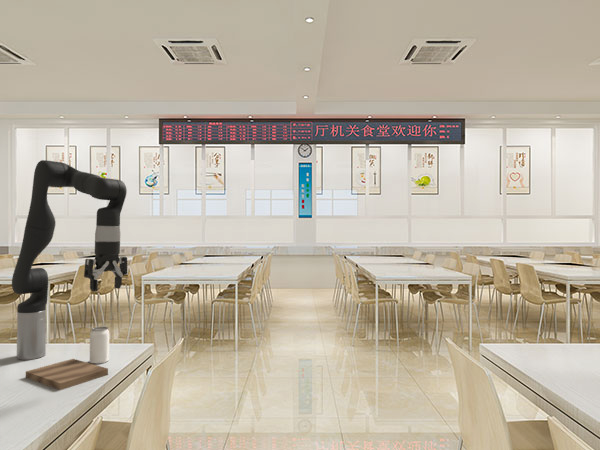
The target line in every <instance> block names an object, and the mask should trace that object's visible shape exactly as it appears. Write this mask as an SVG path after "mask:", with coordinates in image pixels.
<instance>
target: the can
mask: <svg viewBox="0 0 600 450" xmlns="http://www.w3.org/2000/svg"><path fill="white" fill-rule="evenodd" d="M109 360H110V331H109V327H107V326H97V327H93V328H91V331H90V333H89V362H90V364H94V365H101V364H104V363H107V362H109Z"/></svg>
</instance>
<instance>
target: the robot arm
mask: <svg viewBox="0 0 600 450" xmlns="http://www.w3.org/2000/svg"><path fill="white" fill-rule="evenodd" d="M32 179H33V181H32V190H31V198H30V204H29V209H28V215H27V219H26V223H25V227H24V232H23V238H22V242H21V247H20V252H19V255H18V257H17V261H16V265H15V267H14V270H13V273H12V279H11V288H12V291H13V292H14V293H15V294H17V295H25V294H26V295H27V294H31V295H30V296H29V297H28V298H27V299H26V300H24V301H22V302H20V303H18V304H17V306H16V308H17V309H16V315H17V317H16V322H17V324H16V326H17V327H16V328H17V329H16V358H17V360H22V361H23V360H24V361H26V360H34V359H39V358H42V357H44V356H45V355H46V354H47V353H46V351H47V350H46V347H47V346H46V345H47V343H46V341H47V339H46V337H47V336H46V335H47V333H46V332H47V331H46V330H47V328H46V327H47V323H46V322H47V321H46V319H47V316H46V315H47V314H46V313H47V309H46V308H47V304H48V292H49V275H48V272H47V270H46V269H45V268H43V267H36V268H35V267H34V268H33V264H34V262H35V261H36V259H37V258H38V257H39V255H40V254H42V252H43V251H44V250H45V249H46V248H47V247H48V245H49V244H50V243H51V242H52V239H53V237H54V234H55V233H54V232H55V227H56V217H55V216H54V213H53V211H52V209H51V207H50V205H49V202H48V190H49V188H73V189H75V191H78V192H80V193H82V194H85V195H89V196H90V197H92V198H94V199H95V200H96V199H97V200H101V201H109V202H108V204H107V206H105V207H104V206H103V207H100V208H98V209H97V211H96V223H95V224H96V227H95V233H94V237H95V238H94V256H95V257H94V258H85V260H84V261H85V262H84V271H83V277H84V278H86V279H89V290H91V292H94V293H95V292H96V293H97V292H98V289H99V288H98V285H99V282H98V281H99V279H98V278H99V277H100V276H101V274H103V272H112V273H113V274H114V276H115V277H114V288H115V289H121V288H122V284H123V281H122V280H123V279H122V278H123V277H124V276H125V275H126V276H127V275H128V257H126V256H120V257H119V255H120V253H121V227H120V226H121V213H122V209H123V207H124V203H125V200H126V197H127V190H128V189H127V186H126V184H125V182H124V181H122V180H121V179H115V178H107V177H101V176H100V175H97V174H94V173H89V172H86V171H85V172H84V171H80V170H79V169H76V168H74V167H73V166H71V165H69V164H68V163H65V162H61V161H54V160H43V159H42V160H40V161H38V162H37V164H36V166H35V168H34V173H33V178H32ZM118 264H119V265H118Z"/></svg>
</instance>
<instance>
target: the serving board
mask: <svg viewBox="0 0 600 450" xmlns="http://www.w3.org/2000/svg"><path fill="white" fill-rule="evenodd" d="M108 375H109V368H107V367H104V366H100V365H98V364H92V363H91V362H90V363H89V362H86V361H84V360H83V361H82V360H79V359H75V358H70V359H68V360H64V361H63V360H62V361H60V362H55V363H52V364H48V365H44V366H41V367H37V368H34V369H30V370H26V371H25V379H29V380H31V381H34V382H37V383H40V384H42V385H46V386H48V387H51V388H53V389H57V390H59V391H62V390H65V389H67V388H71V387H74V386H76V385H77V386H78V385H80V384H83V383H86V382H89V381H92V380H95V379H98V378H101V377H102V378H103V377H105V376H108Z"/></svg>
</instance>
